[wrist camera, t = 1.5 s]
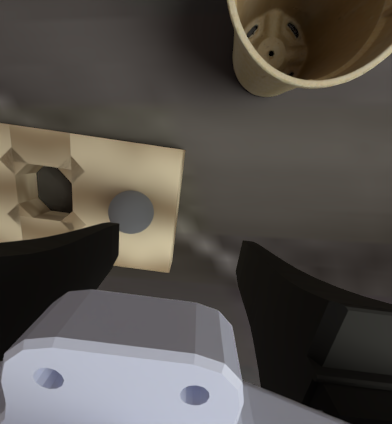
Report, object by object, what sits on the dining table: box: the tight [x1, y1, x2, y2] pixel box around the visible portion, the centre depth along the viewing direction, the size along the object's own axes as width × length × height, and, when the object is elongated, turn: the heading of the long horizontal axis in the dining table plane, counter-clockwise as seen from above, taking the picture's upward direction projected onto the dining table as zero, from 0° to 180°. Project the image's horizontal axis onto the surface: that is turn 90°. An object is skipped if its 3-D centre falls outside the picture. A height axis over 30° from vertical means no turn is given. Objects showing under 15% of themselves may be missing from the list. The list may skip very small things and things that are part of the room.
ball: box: [108, 190, 154, 234], centre depth 16 cm, size 4×4×4 cm
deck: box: [0, 123, 185, 273], centre depth 19 cm, size 12×17×2 cm
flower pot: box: [227, 0, 392, 97], centre depth 13 cm, size 9×9×9 cm
